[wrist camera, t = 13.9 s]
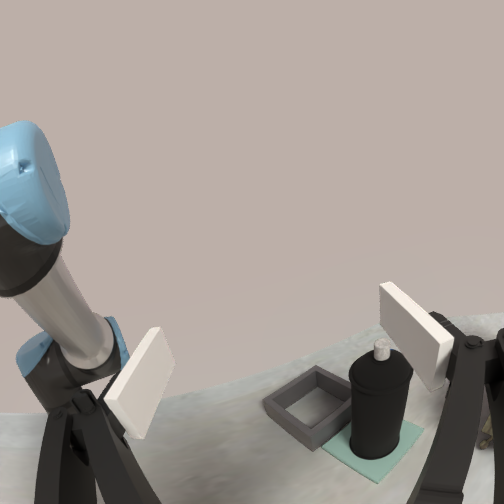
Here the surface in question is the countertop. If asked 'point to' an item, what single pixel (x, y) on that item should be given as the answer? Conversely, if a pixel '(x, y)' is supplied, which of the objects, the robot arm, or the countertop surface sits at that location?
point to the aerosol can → (378, 400)
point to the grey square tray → (299, 389)
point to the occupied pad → (372, 468)
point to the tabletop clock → (487, 430)
